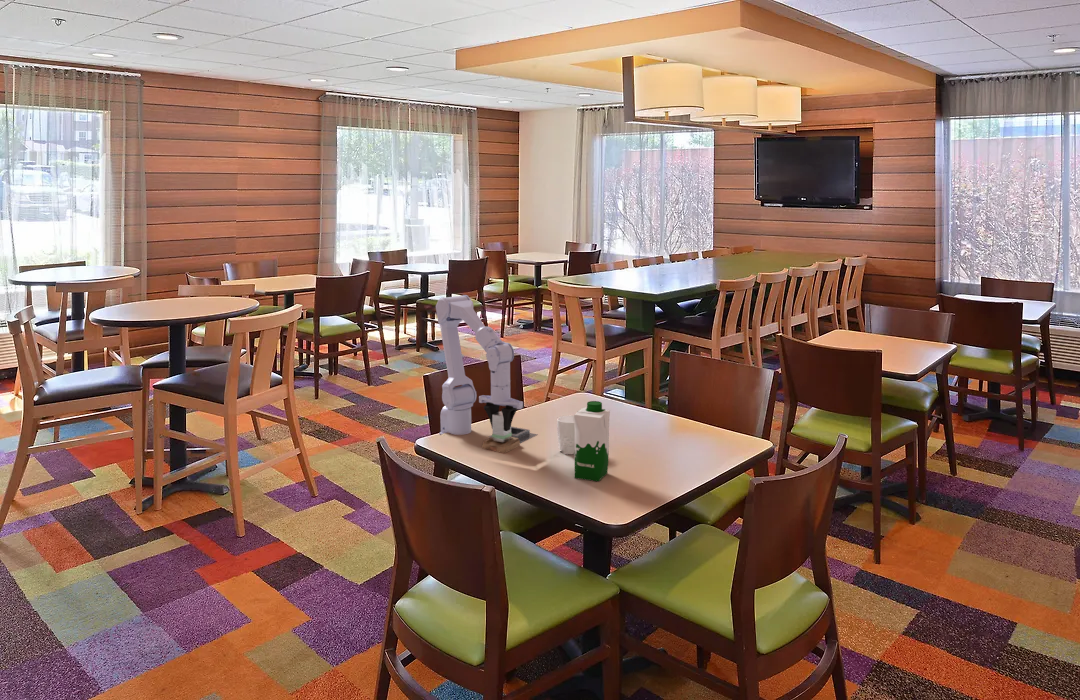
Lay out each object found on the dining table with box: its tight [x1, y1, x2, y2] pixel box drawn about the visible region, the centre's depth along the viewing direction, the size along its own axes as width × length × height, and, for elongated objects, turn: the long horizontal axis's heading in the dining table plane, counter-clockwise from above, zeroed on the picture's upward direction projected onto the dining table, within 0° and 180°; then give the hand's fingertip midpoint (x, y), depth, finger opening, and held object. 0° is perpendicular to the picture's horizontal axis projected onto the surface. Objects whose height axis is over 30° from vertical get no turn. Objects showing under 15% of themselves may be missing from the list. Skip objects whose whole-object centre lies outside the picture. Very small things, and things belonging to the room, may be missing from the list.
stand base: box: [488, 426, 538, 444], centre depth 246 cm, size 12×10×2 cm
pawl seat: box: [482, 437, 521, 454], centre depth 235 cm, size 8×8×3 cm
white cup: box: [556, 414, 575, 455], centre depth 233 cm, size 8×8×10 cm
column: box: [491, 410, 512, 443], centre depth 234 cm, size 4×4×8 cm
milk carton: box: [573, 400, 611, 482], centre depth 212 cm, size 9×9×20 cm
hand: (501, 428), depth 234 cm, fingers closed on column, 4 cm apart
